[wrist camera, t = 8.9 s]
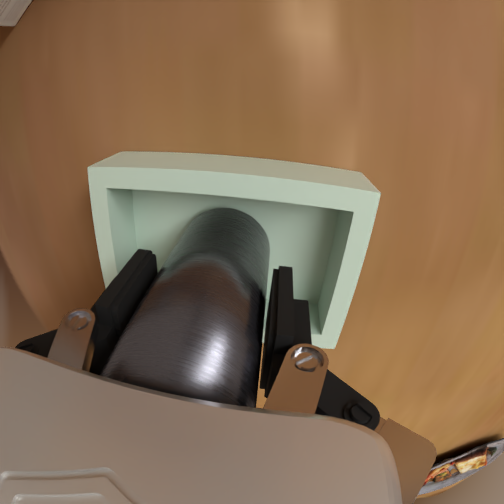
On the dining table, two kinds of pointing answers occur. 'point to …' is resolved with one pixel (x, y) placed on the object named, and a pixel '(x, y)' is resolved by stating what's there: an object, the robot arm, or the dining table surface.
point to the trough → (250, 202)
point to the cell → (201, 315)
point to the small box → (12, 11)
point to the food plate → (462, 466)
